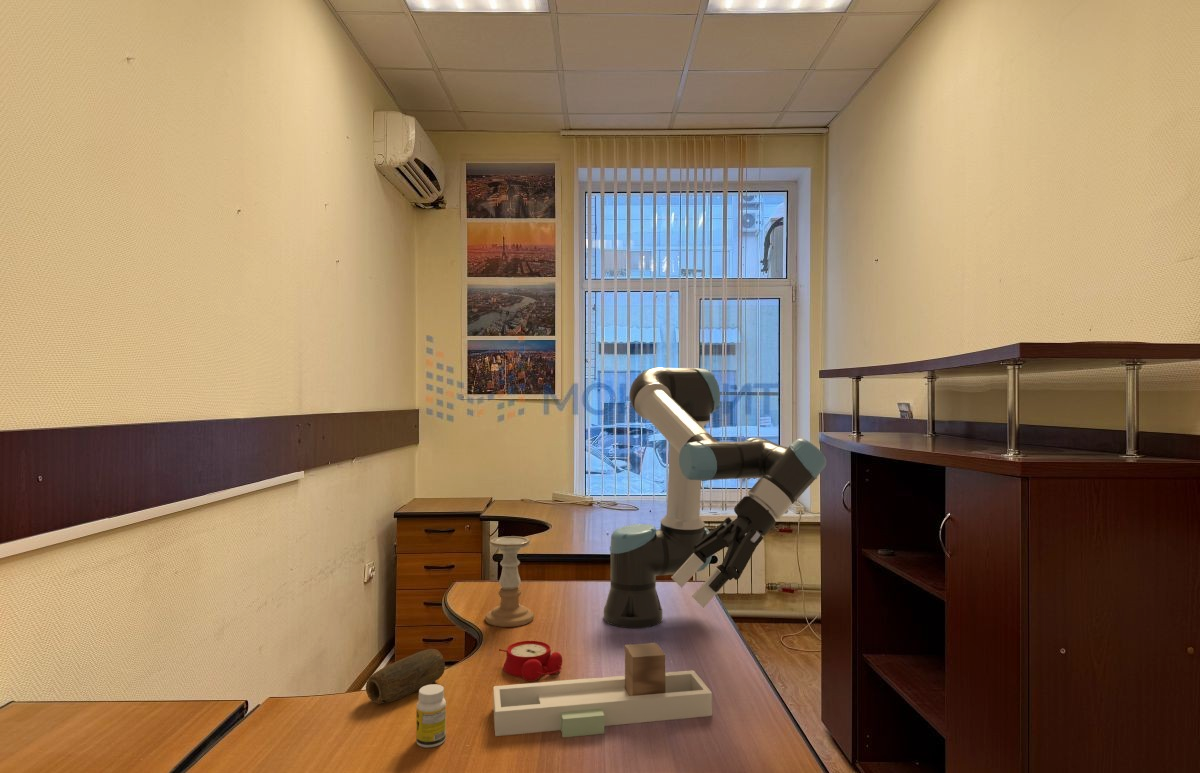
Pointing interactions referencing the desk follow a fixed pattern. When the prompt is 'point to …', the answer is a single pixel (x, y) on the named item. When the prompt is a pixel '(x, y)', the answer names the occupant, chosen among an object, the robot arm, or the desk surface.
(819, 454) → the robot arm
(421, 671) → the hollow wooden log
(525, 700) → the board
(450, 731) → the desk surface
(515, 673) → the alarm clock
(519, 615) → the candle holder
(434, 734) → the supplement bottle
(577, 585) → the desk surface
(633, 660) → the walnut block
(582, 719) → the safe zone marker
